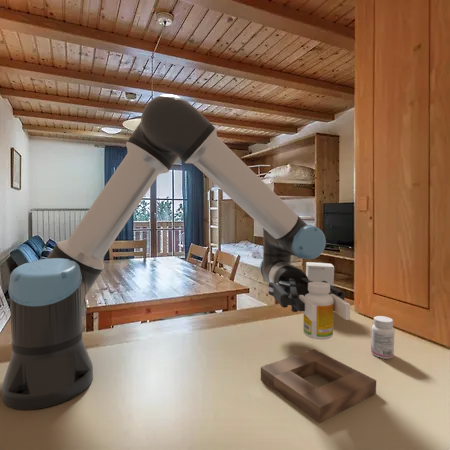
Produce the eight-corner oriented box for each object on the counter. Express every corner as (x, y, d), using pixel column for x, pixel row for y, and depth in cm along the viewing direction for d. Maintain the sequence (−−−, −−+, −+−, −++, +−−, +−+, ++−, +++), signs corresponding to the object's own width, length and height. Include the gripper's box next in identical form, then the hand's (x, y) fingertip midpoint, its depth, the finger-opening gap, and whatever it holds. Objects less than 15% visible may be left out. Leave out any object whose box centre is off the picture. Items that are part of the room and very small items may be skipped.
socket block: (319, 422, 52) (319, 407, 51) (260, 379, 64) (260, 366, 64) (375, 393, 60) (376, 380, 59) (313, 359, 72) (313, 348, 72)
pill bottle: (374, 347, 78) (375, 313, 78) (395, 353, 75) (397, 318, 75) (368, 355, 75) (369, 319, 74) (390, 361, 72) (392, 324, 71)
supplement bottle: (336, 332, 62) (337, 282, 61) (328, 343, 58) (329, 289, 57) (308, 326, 65) (309, 279, 64) (299, 336, 60) (300, 285, 60)
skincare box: (305, 314, 101) (306, 265, 100) (304, 307, 108) (305, 261, 107) (333, 316, 100) (334, 266, 99) (330, 309, 106) (331, 262, 105)
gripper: (324, 294, 80) (380, 331, 57) (250, 296, 78) (278, 336, 55) (324, 264, 79) (381, 289, 56) (251, 266, 77) (279, 293, 54)
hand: (331, 312), depth 56 cm, fingers closed on supplement bottle, 5 cm apart
